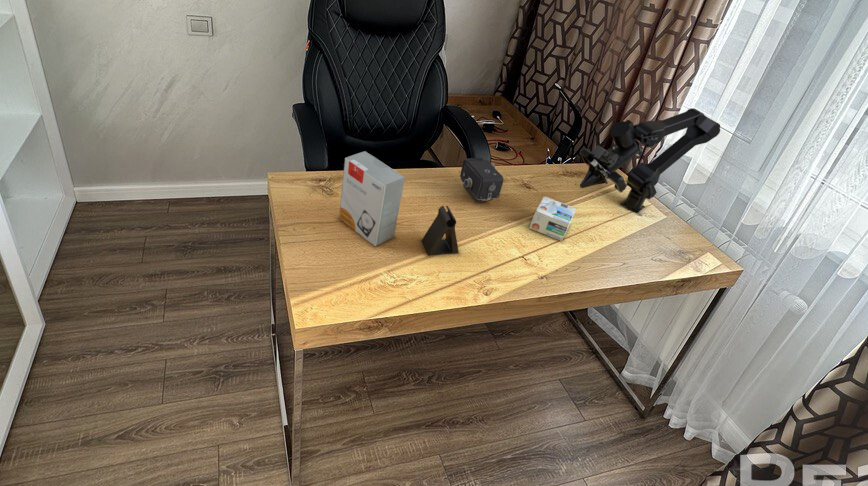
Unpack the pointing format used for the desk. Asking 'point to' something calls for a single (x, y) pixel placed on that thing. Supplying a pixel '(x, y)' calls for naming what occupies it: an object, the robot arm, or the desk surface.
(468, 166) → the camera
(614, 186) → the robot arm
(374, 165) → the hard drive box
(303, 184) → the desk surface
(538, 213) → the light bulb box
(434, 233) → the phone stand
